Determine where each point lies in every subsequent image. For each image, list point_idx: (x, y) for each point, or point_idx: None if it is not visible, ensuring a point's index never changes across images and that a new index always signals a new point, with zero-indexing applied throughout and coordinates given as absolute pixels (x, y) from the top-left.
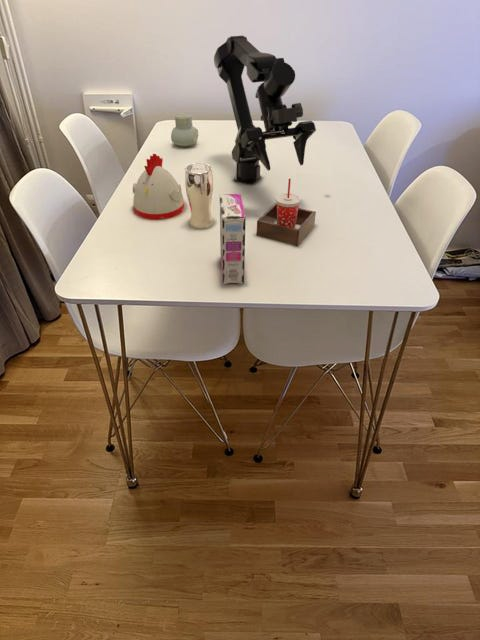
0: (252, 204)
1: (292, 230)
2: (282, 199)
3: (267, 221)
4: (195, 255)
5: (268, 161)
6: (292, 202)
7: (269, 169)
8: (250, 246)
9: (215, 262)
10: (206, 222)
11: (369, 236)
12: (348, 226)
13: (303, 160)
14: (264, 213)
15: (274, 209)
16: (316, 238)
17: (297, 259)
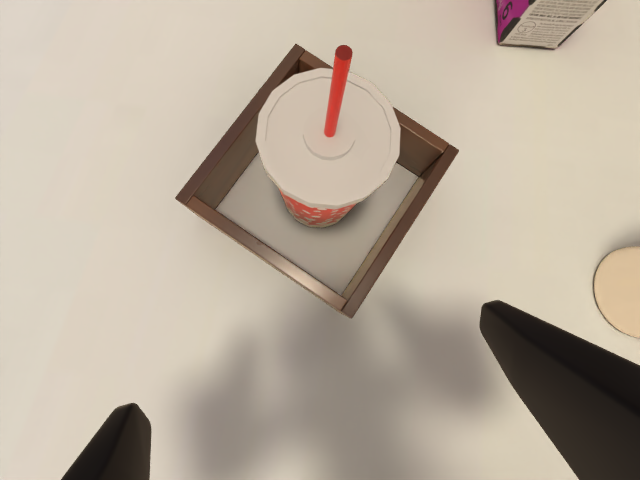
0: (425, 446)
1: (320, 61)
2: (362, 134)
3: (392, 222)
4: (633, 80)
5: (549, 342)
6: (313, 90)
7: (490, 303)
8: (458, 107)
9: (570, 35)
10: (633, 251)
11: (6, 115)
12: (56, 198)
13: (95, 438)
14: (420, 210)
15: (359, 278)
16: (215, 127)
17: (315, 13)
